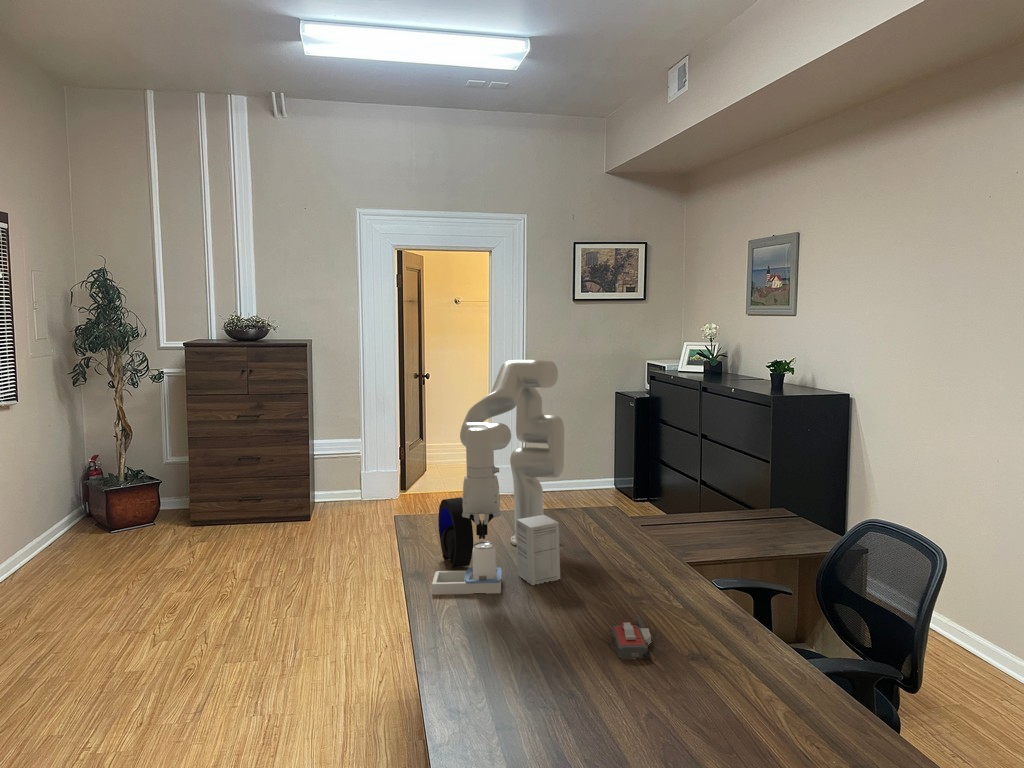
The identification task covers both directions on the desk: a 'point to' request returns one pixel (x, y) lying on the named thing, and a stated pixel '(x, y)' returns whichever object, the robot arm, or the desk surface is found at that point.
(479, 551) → the can
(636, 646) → the walkie-talkie
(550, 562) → the supplement box
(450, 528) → the headphones
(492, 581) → the block
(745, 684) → the desk surface
